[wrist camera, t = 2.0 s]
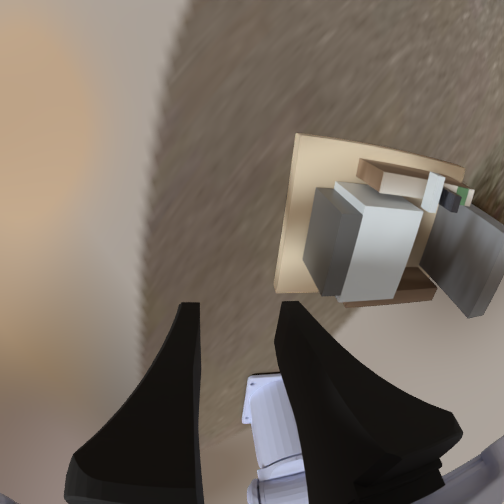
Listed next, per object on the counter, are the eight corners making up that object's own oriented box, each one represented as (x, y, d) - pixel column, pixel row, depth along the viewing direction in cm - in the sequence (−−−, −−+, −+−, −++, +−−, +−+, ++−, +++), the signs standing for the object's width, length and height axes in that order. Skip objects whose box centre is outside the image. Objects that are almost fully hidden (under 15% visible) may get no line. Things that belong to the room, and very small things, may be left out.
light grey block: (378, 265, 22) (404, 297, 18) (301, 265, 21) (319, 303, 17) (407, 158, 18) (445, 177, 14) (322, 143, 16) (352, 159, 13)
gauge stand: (420, 280, 25) (469, 338, 18) (273, 285, 23) (301, 369, 16) (457, 164, 20) (530, 204, 13) (295, 132, 17) (355, 165, 10)
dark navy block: (440, 202, 16) (457, 213, 14) (434, 201, 16) (450, 212, 14) (445, 186, 15) (462, 196, 14) (438, 185, 15) (455, 195, 14)
